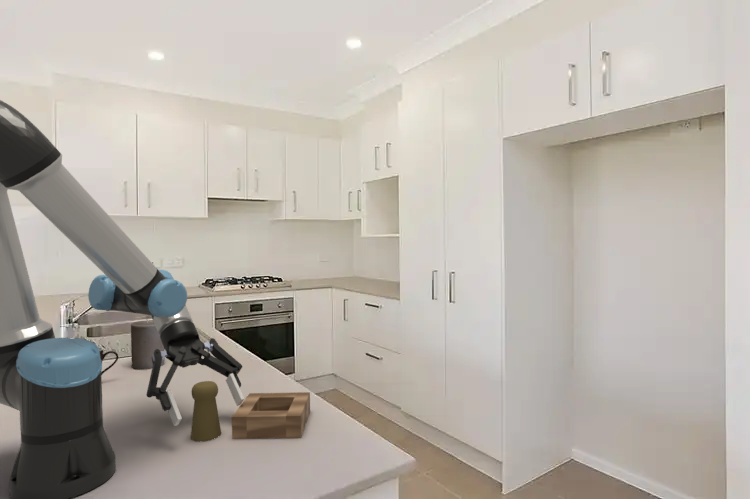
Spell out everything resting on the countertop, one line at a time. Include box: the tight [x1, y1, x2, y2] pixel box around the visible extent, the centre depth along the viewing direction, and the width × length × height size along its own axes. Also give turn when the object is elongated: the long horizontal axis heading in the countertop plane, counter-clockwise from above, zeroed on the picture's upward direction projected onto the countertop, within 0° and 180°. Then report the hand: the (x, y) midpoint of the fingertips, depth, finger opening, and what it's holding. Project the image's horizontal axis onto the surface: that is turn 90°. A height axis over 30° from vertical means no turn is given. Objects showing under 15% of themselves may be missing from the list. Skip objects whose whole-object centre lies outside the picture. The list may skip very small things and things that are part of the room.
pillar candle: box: [130, 318, 166, 370], centre depth 150 cm, size 10×10×15 cm
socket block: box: [231, 391, 311, 440], centre depth 102 cm, size 14×14×4 cm
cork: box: [190, 380, 222, 442], centre depth 97 cm, size 6×6×11 cm
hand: (211, 412), depth 96 cm, fingers open, 13 cm apart
